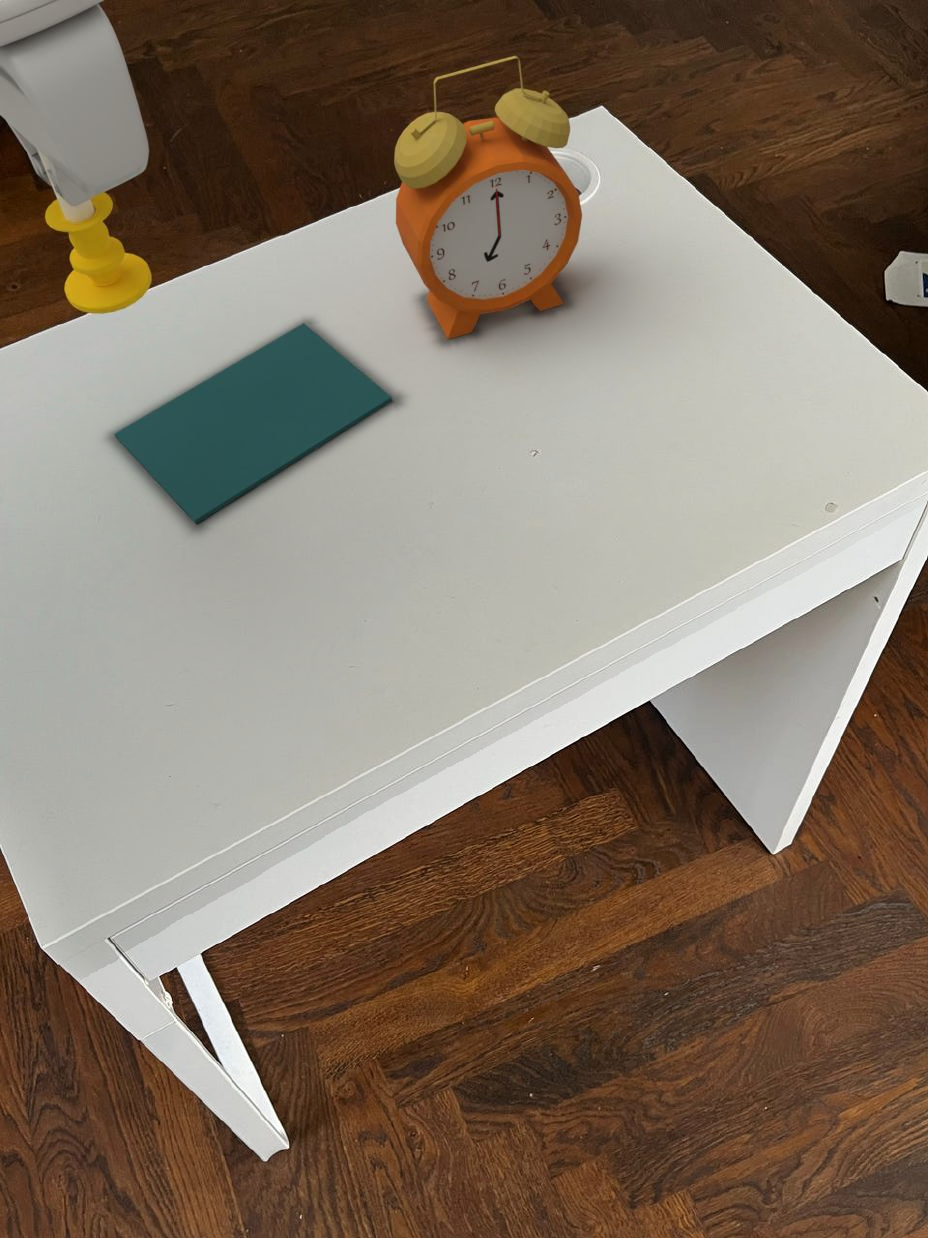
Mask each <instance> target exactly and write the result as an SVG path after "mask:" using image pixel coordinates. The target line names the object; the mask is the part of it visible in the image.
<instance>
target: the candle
mask: <svg viewBox="0 0 928 1238" xmlns="http://www.w3.org/2000/svg"><path fill="white" fill-rule="evenodd" d="M37 151H38V153H39V156H40V158H41V161H42V163H43V165H44V168H45V170H46V173H47V175H48V177H49V180H50V182H51V185H52V186H51V188H52V189H53V192H54V195H55V196H56V199H55V200H53V201H52V203H50V205H48V206H47V208H46V210H45V213H44V219H45V222H46V224H47V226H49V227H50V228H51V229H53V230H55V231H58V232H63V233H68V239H69V241H70V243H71V245H72V247H73V249H72V250H71V251H70V254H69V262H70V265H71V267H72V269H73V270H72V271H71V272H70V273H69V275H68V276H67V277H66V280H65V282H64V294H65V297H66V299H67V300H68V302H69V304H70V305H72V307H73V308H74V309H77V310H78V311H80V312H84V313H88V314H91V315H92V314H94V315H95V314H97V315H98V314H99V315H100V314H101V315H104V314H109V313H115V312H118V311H121V310H124V309H127V308H128V307H130V306H132V305H134V304H136V302H138V301H139V300H140V299H142V298H143V297H144V296H145V295H146V293H147V292H148V291H149V289H150V287H151V284H152V279H153V278H152V277H153V276H152V271H151V269H150V266H149V265H148V263H147V262H146V260H144V259H143V258H142V257H140V256H138V255H136V254H134V253H128V252H126V251H125V248H124V246H123V243H122V242H121V241H120V240H119V239H118V238H116V237H114V236H110V234H109V233H110V232H109V229H108V227H107V225H106V224H105V222H104V220H107V218H108V217H109V216H110V215H111V212H112V210H113V206H114V203H113V200H112V198H111V196H110V195H109V194H108V193H107V192H103V193H101V194H98V195H95V196H94V197H93V198H91V199H89V200H87V201H85V202H83V203H81V204H79V205H77V206H71V205H69V204H68V203H67V202H66V201H65V200H64V199H63V198H62V197H61V196H60V195H59V194H58V193H57V192H56V190H55V188H54V184H53V182H52V181H51V179H50V176H49V174H48V172H47V169H48V170H51V169H50V166H49V163H48V160H47V158H46V157H45V156H44V155H43V154H42V153H41V152H40V151H39V150H38V149H37Z"/></svg>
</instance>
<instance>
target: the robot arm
mask: <svg viewBox="0 0 928 1238" xmlns="http://www.w3.org/2000/svg"><path fill="white" fill-rule="evenodd" d="M104 1H105V0H0V116H1V117H2V118H3V119H4V120H5V121H6V123H7V124H8V126H9V128H10V129H11V131H12V132H13V133H14V135H15V137H16V138H17V141H19V143H20V145H21V146H22V147H23V149H24V150H25V151H26V152H27V155H28V158H29V160H30V162H31V165H32V167H33V169H34V171H35V174H36V175H38V177H40V178H41V179H42V181H44V182H45V183H46V184H47V185H48V186H50V187H52V185H51V182H50V180H49V177H48V175H47V173H46V170H45V168H44V165H43V163H42V161H41V158H40V156H39V153H38V151H37V149H38V150H39V151H40V152H41V153H42V154H43V155H44V156H45V157H46V158H47V160H48V163H49V166H50V169H51V170H48V169H47V172H48V174H49V176H50V179H51V181H52V182H53V184H54V188H55V190H56V192H57V193H58V194H59V195H60V196H61V197H62V198H63V199H64V200H65V201H66V202H67V203H68V204H69V205H71V206H77V205H79V204H81V203H83V202H85V201H87V200H89V199H91V198H93V197H94V196H95V195H98V194H101V193H103V192H104V193H106V192H107V191H110V190H112V189H113V188H116V187H118V186H120V185H122V184H124V183H126V182H128V181H130V180H131V179H133V178H135V177H138V176H139V175H140V174H142V173H143V172H144V171H145V170H146V169H147V167H148V162H149V155H150V148H149V147H150V146H149V141H148V135H147V132H146V128H145V124H144V121H143V117H142V114H141V113H142V112H141V110H140V105H139V102H138V99H137V96H136V92H135V88H134V85H133V82H132V79H131V76H130V73H129V69H128V65H127V62H126V59H125V55H124V53H123V50H122V47H121V45H120V42H119V39H118V37H117V34H116V32H115V30H114V27H113V25H112V24H111V22H110V19H109V17H108V16H107V14H106V13H105V11H104V10H103V8H102V7H101V5H100V4H101V2H104Z"/></svg>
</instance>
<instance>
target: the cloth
mask: <svg viewBox="0 0 928 1238" xmlns="http://www.w3.org/2000/svg"><path fill="white" fill-rule="evenodd" d="M390 402H393V397H392V396H391V395H390V394H388V393H387V392H386V391H385V390H384V389H383V388H381V387H380V386H379V385H378V384H377V383H375V381H373V380H372V379H371V378H370V377H368V376H367V375H366V374H365V373H364V372H363V371H361V370H360V369H359V368H358V367H357V366H356V365H354V364H353V363H352V362H351V361H350V360H348V359H347V358H346V357H345V356H344V355H342V354H341V352H339V351H338V350H337V349H335V348H334V347H333V346H332V345H330V344H329V343H328V342H327V341H326V340H325V339H323V338H322V337H321V336H320V335H319V334H317V333H316V332H315V331H314V330H313V329H312V328H310V327H309V326H308V325H307V324H306V323H304V322H303V323H301V324H299V325H298V326H296V327H294V328H293V329H291V330H289V331H287V332H286V333H284V334H283V335H281V336H279V337H277V338H275V339H274V340H272V341H270V342H269V343H267V344H266V345H263V346H262V347H260V348H259V349H257V350H255V351H254V352H252V353H250V354H248V355H247V356H245V357H243V358H241V359H239V360H238V361H236V362H235V363H233V364H231V365H229V366H228V367H225V368H224V369H222V370H221V371H219V372H218V373H216V374H213V376H211V377H209V378H207V379H205V380H204V381H202V382H201V383H199V384H196V385H195V386H194V387H192V388H190V389H189V390H186V391H185V392H183V393H181V394H180V395H178V396H176V397H175V398H173V399H171V400H170V401H168V402H166V403H165V404H162V405H161V406H159V407H158V408H156V409H154V410H153V411H150V412H149V413H147V414H146V415H144V416H142V417H140V418H139V419H137V420H135V421H133V422H132V423H130V424H129V425H127V426H125V427H123V428H121V429H120V430H118V431H117V432H114V436H115V439H117V440H118V442H120V444H122V446H123V447H124V448H125V449H126V450H127V452H129V453H130V454H131V456H132V457H133V458H134V459H135V460H136V461H137V462H138V463H139V464H140V466H142V468H144V470H145V471H146V472H147V473H148V474H149V475H150V476H151V477H152V478H153V479H154V480H155V481H156V483H157V484H158V485H159V486H160V487H161V488H162V489H163V490H164V491H165V492H166V494H168V496H169V497H170V498H171V499H172V500H173V501H174V502H175V503H176V504H177V505H178V507H180V509H181V510H182V511H183V512H184V513H185V514H186V515H187V516H188V517H189V519H191V520H192V522H193V523H194V524H195V525H196V524H198V523H200V522H202V521H204V520H205V519H206V518H208V517H209V516H211V515H213V514H214V513H216V512H218V511H219V510H221V509H222V508H224V507H226V506H227V505H228V504H230V503H232V502H233V501H235V500H236V499H238V498H240V497H241V496H243V495H245V494H247V492H250V491H251V490H252V489H255V487H257V486H259V485H261V484H262V483H263V482H265V481H267V480H268V479H270V478H271V477H273V476H274V475H275V476H276V475H277V474H278V473H279V472H281V471H283V470H284V469H286V468H288V467H289V466H291V465H292V464H294V463H296V462H297V461H298V460H300V459H302V458H303V457H305V456H306V455H308V454H310V453H311V452H313V451H314V450H316V449H318V448H319V447H321V446H322V445H324V444H326V443H327V442H329V441H330V440H332V439H333V438H335V437H338V435H340V434H342V433H343V432H345V431H347V430H348V429H349V428H351V427H352V426H354V425H356V424H357V423H359V422H360V421H362V420H364V419H365V418H367V417H369V416H370V415H371V414H373V413H374V412H376V411H378V410H380V409H381V408H383V407H384V406H386V405H388V404H389V403H390Z"/></svg>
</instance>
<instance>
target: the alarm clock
mask: <svg viewBox="0 0 928 1238" xmlns="http://www.w3.org/2000/svg"><path fill="white" fill-rule="evenodd" d="M515 59H517V64H518V68H519V69H518V71H519V72H518V73H519V81H520V88H514V89H512V90H510V91H508V92H506V93H503V95H502V96H501V98H499V99H498V101H497V103H496V104H495V107H494V112H495V114H496V117H490V118H482V119H481V118H479V119H473V120H468V121H466V122H462V121H460V120H459V119H458V118H456V117H455V116H454V115H452V114H450V113H448V112H444V111H437V90H436V89H437V85H436V84H437V82H438V81H439V80H443V79H446V78H450V77H453V76H457V75H461V74H465V73H468V72H472V71H475V70H479V69H482V68H486V67H491V66H493V65H498V64H500V63H505V62H508V61H511V60H515ZM521 66H522V65H521V60H520V58H519V57H518V56H517V55H513V56H509V57H504V58H501V59H497V60H495V61H490V62H486V63H483V64H480V65H475V66H472V67H468V68H465V69H461V70H458V71H453V72H450V73H447V74H442V75H440V76H436V77H435V78H434V80H433V102H434V104H433V105H434V111H432V112H426V113H424V114H422V115H420V116H418V117H417V118H416V119H414V120H413V121H411V122H410V123H409V124H408V125H407V126H406V128H405V129H404V130H403V131H402V133H401V135H400V136H399V137H398V140H397V142H396V145H395V147H394V158H393V159H394V161H393V163H394V168H395V171H396V173H397V175H398V177H399V179H400V181H401V184H400V187H399V189H398V193H397V195H396V199H395V201H396V202H395V225H396V228H397V231H398V233H399V236H400V240H401V243H402V245H403V247H404V249H405V251H406V252H407V254H408V256H409V258H410V260H411V262H412V264H413V266H414V268H415V270H416V271H417V273H418V275H419V277H420V279H421V281H422V282H423V284H424V286H425V287H426V288H427V289H428V290H429V291H428V294H427V297H426V301H427V303H428V305H429V307H430V309H431V310H432V312H433V314H434V316H435V319H436V320H437V322H438V324H439V326H440V328H441V330H442V332H443V333H444V335H445V338H446V339H447V340H452V339H454V338H457V337H461V336H463V335H468V334H471V333H473V331H474V329H475V327H476V324H477V322H478V320H479V318H480V316H481V315H483V314H491V313H497V312H503V311H508V310H510V309H512V308H515V307H517V306H519V305H522V304H523V303H526V302H528V301H531V303H532V304H533V305H534V306H535V307H536V309H538V311H539V312H542V311H546V310H549V309H552V308H556V307H559V306H561V305H564V301H563V300H562V298H561V297H560V295H559V294H558V292H557V290H556V289H555V288H554V285H553V282H554V281H555V280H556V278H557V277H558V276H559V275H560V274H561V273H562V272H563V270H564V269H565V267H566V266H568V264H569V262H570V259H571V257H572V256H573V253H574V251H575V249H576V247H577V245H578V242H579V238H580V231H581V226H582V219H583V211H582V206H581V201H580V196H579V195H580V194H579V191H578V189H577V188H576V186H575V185H574V183H573V181H572V180H571V179H570V177H569V175H568V174H567V172H566V171H565V170H564V168H563V167H562V165H561V164H560V163H559V161H558V160H557V159H556V156H554V154H553V153H552V152H551V150H550V149H549V148H552V149H563V148H565V147H566V146H567V145H568V142H569V138H570V133H571V123H570V119H569V116H568V114H567V113H566V112H565V110H564V109H563V108H561V106H560V105H559V104H558V103H557V102H556V101H554V100H553V99H551V98H550V97H549V96H550V93H549V91H547V90H543V91H542V93H541V92H538V91H536V90H531V89H527V88H524V83H523V75H522V67H521Z"/></svg>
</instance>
